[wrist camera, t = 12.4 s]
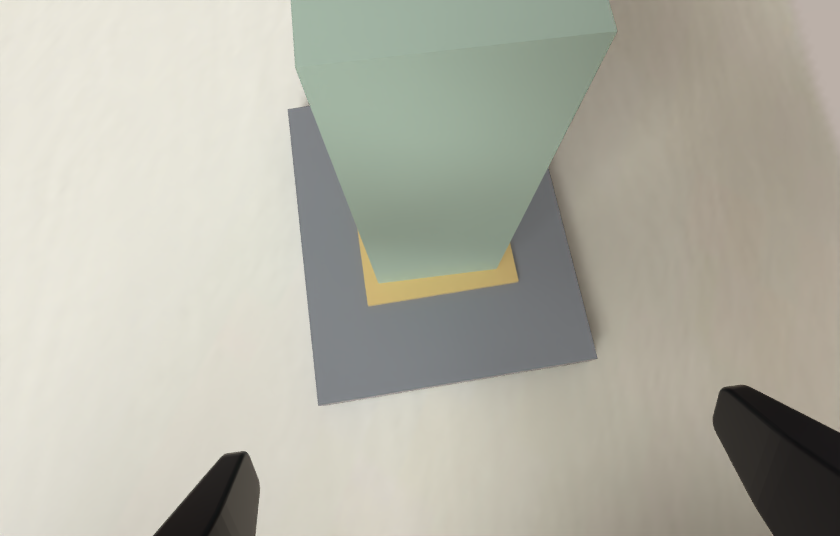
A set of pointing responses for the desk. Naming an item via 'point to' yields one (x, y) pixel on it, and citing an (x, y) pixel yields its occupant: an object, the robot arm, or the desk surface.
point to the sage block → (444, 116)
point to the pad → (428, 297)
